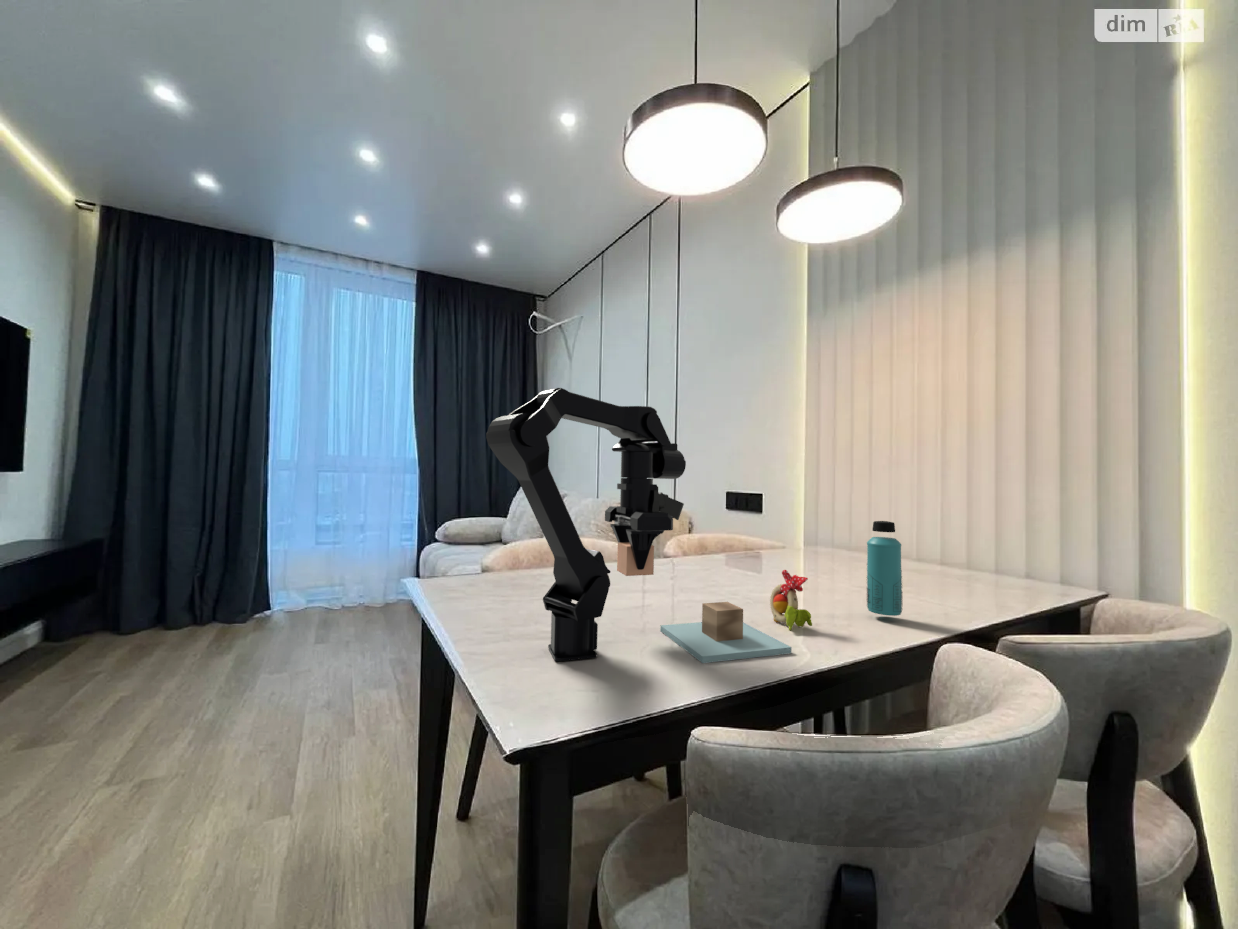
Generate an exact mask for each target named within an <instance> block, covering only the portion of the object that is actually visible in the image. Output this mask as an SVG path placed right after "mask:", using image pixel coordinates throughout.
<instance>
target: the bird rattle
mask: <svg viewBox="0 0 1238 929" xmlns="http://www.w3.org/2000/svg"><path fill="white" fill-rule="evenodd" d="M781 575H782V577H783V579H784V581H785V583H783V584H782V583H780V584H778V585H776V586H775V587H774V588H773V589H772V591H771V594H770V598H769V603H770V604H769V605H770V610H771V613H772V615H773V616H772V617H773V622H774V623H786V626H787V627H788V631H792V629H793V626H794V625H796V627H798V628H802V627H805V624H806V623H807V625H808V626H809V627H812V626H813V622H812V614H811V612H810V611H809V610H807V609H803V608H802V609H801V608H799V600H798V595H797V592H803V590H804V588H803V587H802V585H803V584H805V583H806V581H808V579H809V578H808V577H805V576H799V575H797V574H793V575H791V574H790V572H789V571H788V570H787V569H783V570H782V571H781ZM798 608H799V609H798Z"/></svg>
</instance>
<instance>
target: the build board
mask: <svg viewBox="0 0 1238 929" xmlns="http://www.w3.org/2000/svg"><path fill="white" fill-rule="evenodd" d="M659 627H660V628H659V629H660V630H659V631H660V632H661V633H662V634H664V635H665V636H666V637H668V639H670V640H672V641H673V642H674V643H675V644H677V645H678V646H679V647H680V648H682V649H683V650H685V651H686V652H687V653H689V654H690V655H691V656H692V657H694V658H695V659H696V660H697V661H699V662H700V663H701V664H707V663H718V662H723V661H724V662H725V661H733V660H745V659H753V658H763V657H771V656H779V654H782V655H790V654H792V646H790V645H788V644H786V643H784V642H783V641H780V640H778V639H777V638H775V637H773V636H771V635H769V634H767V633H766V632H763V631H760V630H759V629H757V628H756V627H753V626H751V625H750V624H747V623H746V622H744V621H743V639H738V640H728V641H717V642H716V641H715V640H713V639H712V638H710V637H709V636H707V635H705V634H704V633H702V621H699V622H688V623H687V622H685V623H674V624H661V625H660V626H659Z"/></svg>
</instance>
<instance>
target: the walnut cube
mask: <svg viewBox="0 0 1238 929" xmlns="http://www.w3.org/2000/svg"><path fill="white" fill-rule="evenodd" d="M701 613H702V614H701V622H702V633H704V634H705V635H707V636H709V637H710V638H712V639H713V640H715V641H716V642H717V641H728V640H738V639H743V622H744V608H742V607H739V606H738V605H735V604H733V603H731V602H729V601H719V602H718V601H717V602H705V603H704V602H703V603H702V610H701Z"/></svg>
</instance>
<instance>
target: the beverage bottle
mask: <svg viewBox="0 0 1238 929" xmlns="http://www.w3.org/2000/svg"><path fill="white" fill-rule="evenodd" d="M872 531H873V532H877V533H879V532H880V533H896V526H895V522H893V521H887V520H875V521H873V522H872ZM866 545H867V548H866V549H867V551H866V552H867V554H866V555H867V557H866V561H867V562H866V585H867V586H866V607H867V609H868V611H869V612H871V613H873V614H876V615H877V614H878V615H881V616H889V617H891V616H892V617H893V616H894V617H895V616H896V617H897V616H901V615H902V612H903V600H904V599H903V584H904V583H903V573H902V572H903V571H902V543H901V542H900V541H899V540H898V539H897V538H894V537H886V536H873V537H871V538H870V539H868V541H867V542H866Z"/></svg>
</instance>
